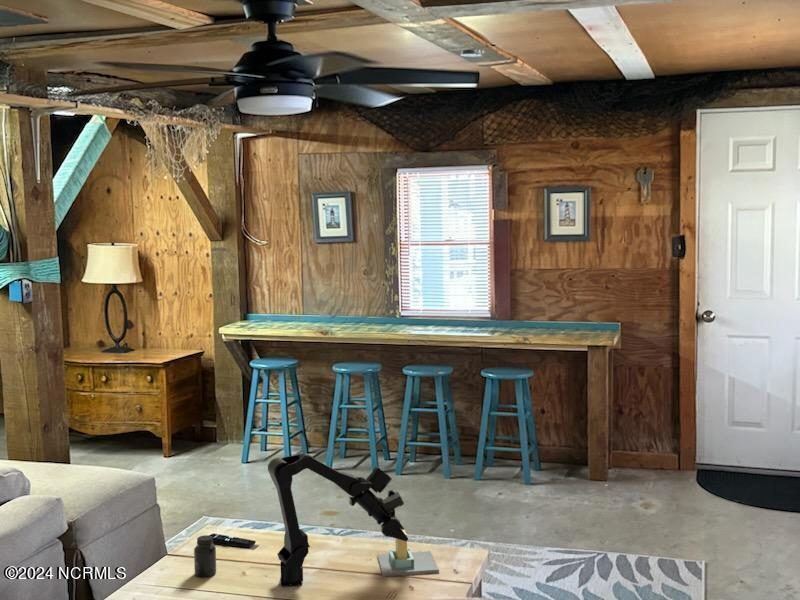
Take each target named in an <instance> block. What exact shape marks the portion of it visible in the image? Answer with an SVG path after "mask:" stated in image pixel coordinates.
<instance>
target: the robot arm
mask: <svg viewBox="0 0 800 600" xmlns="http://www.w3.org/2000/svg"><path fill="white" fill-rule="evenodd" d="M306 469H308V470H310V471H311V472H313V473H315V474H317V475H319V476H321V477H322V478H324V479H326V480H328V481H330V482H332V483H333V484H335V485H336V486H337V487H338V488H339V489H341V490H342V491H344V492H345V494H348V495H349V496H348V499H349V502H348V504H349V505H350V506H352V507H354V506H355V505H356V504H358V505H359V507H360V508H362V509H363V510H364V511H365V512H366V513H367V514H368V516H369V517H372V518H373V519H374V520H375V521H376V523H377V524H378V526H380V531H381V534H382V535H383V536H385V537H386V538H387V537H388V538H389V537H390V538H394V539H396V538H397V539H400V540H403V541H407V542H408V540H409V537H408V535H407V536H406V535H405V533H404V532H403V531H402V530H405V527H404V526H403V525H402V524H401V521H400V519H398V517H397V516H396V509H397V508H398V507H402V506H403V505H405V502H404V500H403V498H402V496H401V494H400V492H399V491H396V492H395V491H394V490H393V489H391V490H388V491H387V496H386V497H385V498H384V499H383V498H382V497H378V496H376V494H377V493H378V494H381V493H382V492H383V491H384V490H385V489H386V488H387V486H388V485H389V484H390V483H391V481H392V480H393V478H392V477H391V476H390V475H389V474H388V473H385V472H384V471H383V470H382V469H381V468H380V467H378V466H375V467H374V469H373V470H372V471H371V473H370V474H369V475H368V476H367V477H366V478H364V477H362V476H354V475H353V474H351V473H347V472H346V471H345V472H344V471H340V470H337V469H334V468H332V467H331V466H329V465H327V464H325V463H324V462H322V461H320V460H318V459H316V458H314V457H313V456H311V455H310V454H308V453H307V452H301V453H298V454H295V455H294V454H293V455H289V456H283V457H281V458H280V457H274V458H273V459H272V460H270V461H269V463H268V464H267V472H268V474H269V476H270V479H271V481H272V482H273V484H274V486H275V488H276V491H277V497H278V502H279V505H280V511H281V515H282V520H283V525H284V531H285V532H284V535H283V536H284V537H283V544H284V545H283V546H282V548H281V549H280V550H279V552H277V554H276V555H277V556H278V560H280V587H293V586H295V587H296V586H302V584H303V583H302V582H303V581H304V567H303V564H304V561H305V558H306V557H307V556H308V554H309V548H311V545H310V544H309V538H308V534H307V533H306V532H305V531H304V530H303V529H300V525H299V521H298V515H297V510H296V506H295V501H294V497H293V492H292V483H293V476H295V475H298V474H299V473H301V472H302V471H304V470H306Z"/></svg>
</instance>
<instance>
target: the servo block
mask: <svg viewBox="0 0 800 600" xmlns="http://www.w3.org/2000/svg"><path fill="white" fill-rule="evenodd" d="M402 531H403V532H404V533H405V535H406V536H407V537H408V534H407V532H406V530H405V529H404V530H402ZM407 549H408V540H407V541H403V540H400V539H397V538H395V550H396V559H407Z"/></svg>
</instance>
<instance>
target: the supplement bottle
mask: <svg viewBox="0 0 800 600" xmlns="http://www.w3.org/2000/svg"><path fill="white" fill-rule="evenodd" d="M213 543H214V541H213V536H211V535H208V534H207V535H200V536H198V537H196V546H195V547H194V549H193V550H194V551H193V552H194V554H193V556H194V557H193V559H194V560H193V561H194V562H193V563H194V565H193V567H194V575H195V576H196V577H197V578H202V579H205V578H206V577H207V578H211V577H213V576H215V575H216V574H217V548H216V546H215V545H214V544H213ZM207 578H206V579H207Z"/></svg>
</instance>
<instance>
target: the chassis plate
mask: <svg viewBox="0 0 800 600" xmlns="http://www.w3.org/2000/svg"><path fill="white" fill-rule="evenodd" d="M376 557H377V560H378V561H377V562H378V564H379V567H380V571H381V574H382V577H391V576H392V577H393V576H406V575H407V576H408V575H424V574H425V573H426V574H435V573H436V574H439V573H440V569H439V567H438V564H437V562H436V560H435V558H434V556H433V554H432V552H431V550H427V551H413V552H412V551H411V548H407V559H396V549H392V550H391V549H389V550H388V553H380V554H379V553H377V556H376Z"/></svg>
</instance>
